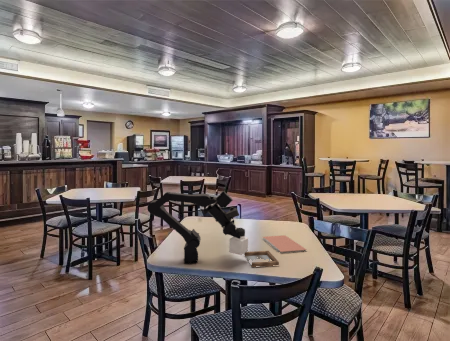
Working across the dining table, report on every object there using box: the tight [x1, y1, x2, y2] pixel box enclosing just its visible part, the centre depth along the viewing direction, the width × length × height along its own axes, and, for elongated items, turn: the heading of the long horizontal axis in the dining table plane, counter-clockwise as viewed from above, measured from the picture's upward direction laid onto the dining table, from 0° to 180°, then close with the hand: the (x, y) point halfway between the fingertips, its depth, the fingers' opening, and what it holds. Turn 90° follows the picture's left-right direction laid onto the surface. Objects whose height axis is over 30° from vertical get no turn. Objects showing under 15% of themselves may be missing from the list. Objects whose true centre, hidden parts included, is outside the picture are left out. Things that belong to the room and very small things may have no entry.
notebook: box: [261, 234, 307, 254], centre depth 176 cm, size 27×17×2 cm, turn 14°
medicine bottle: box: [228, 227, 249, 256], centre depth 148 cm, size 7×7×12 cm
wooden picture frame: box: [243, 250, 280, 268], centre depth 151 cm, size 14×16×2 cm
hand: (239, 236), depth 148 cm, fingers closed on medicine bottle, 6 cm apart
